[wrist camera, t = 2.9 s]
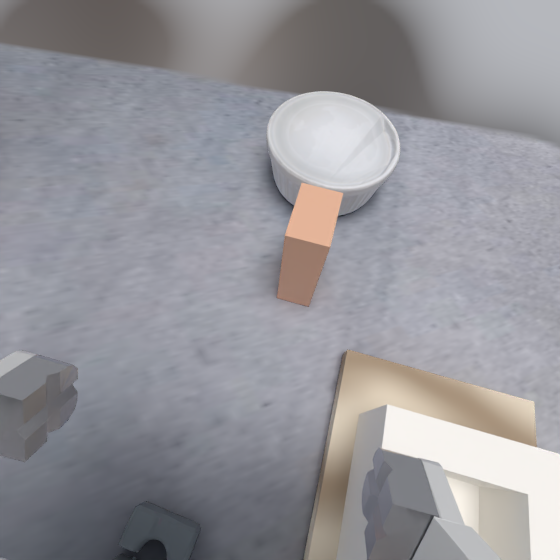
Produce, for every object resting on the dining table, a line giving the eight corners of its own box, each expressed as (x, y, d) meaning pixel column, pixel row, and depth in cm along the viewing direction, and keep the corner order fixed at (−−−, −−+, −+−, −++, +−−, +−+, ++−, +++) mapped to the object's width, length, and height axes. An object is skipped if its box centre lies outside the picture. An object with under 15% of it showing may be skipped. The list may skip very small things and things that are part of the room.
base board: (532, 775, 17) (556, 803, 16) (279, 686, 18) (280, 705, 17) (519, 404, 25) (534, 401, 24) (342, 354, 26) (347, 349, 24)
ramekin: (385, 233, 31) (408, 194, 26) (260, 223, 31) (261, 182, 26) (377, 142, 36) (395, 96, 31) (269, 133, 36) (271, 84, 31)
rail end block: (308, 306, 27) (330, 247, 19) (276, 298, 28) (284, 235, 19) (319, 264, 29) (343, 192, 21) (289, 256, 29) (301, 182, 21)
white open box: (519, 673, 18) (621, 760, 13) (328, 609, 18) (353, 668, 13) (513, 459, 22) (587, 462, 17) (359, 414, 23) (387, 404, 18)
